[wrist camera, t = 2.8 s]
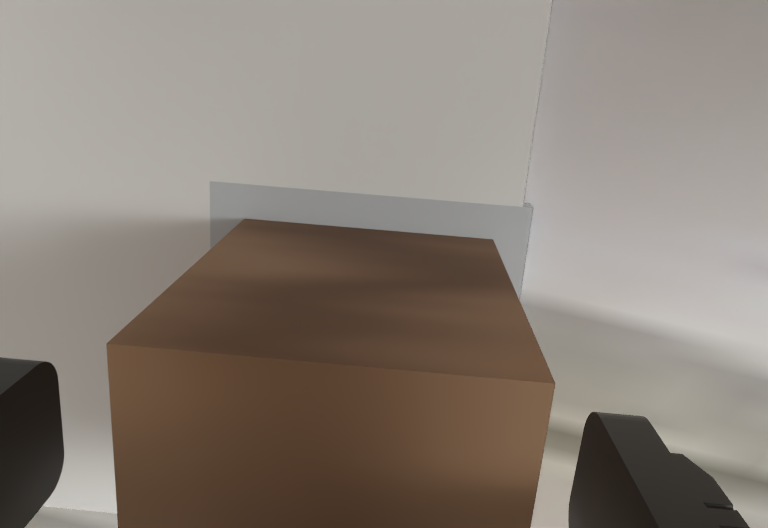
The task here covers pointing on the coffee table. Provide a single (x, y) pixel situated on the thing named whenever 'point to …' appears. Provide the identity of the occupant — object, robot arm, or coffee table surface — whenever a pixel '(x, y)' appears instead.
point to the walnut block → (330, 386)
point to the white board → (237, 155)
